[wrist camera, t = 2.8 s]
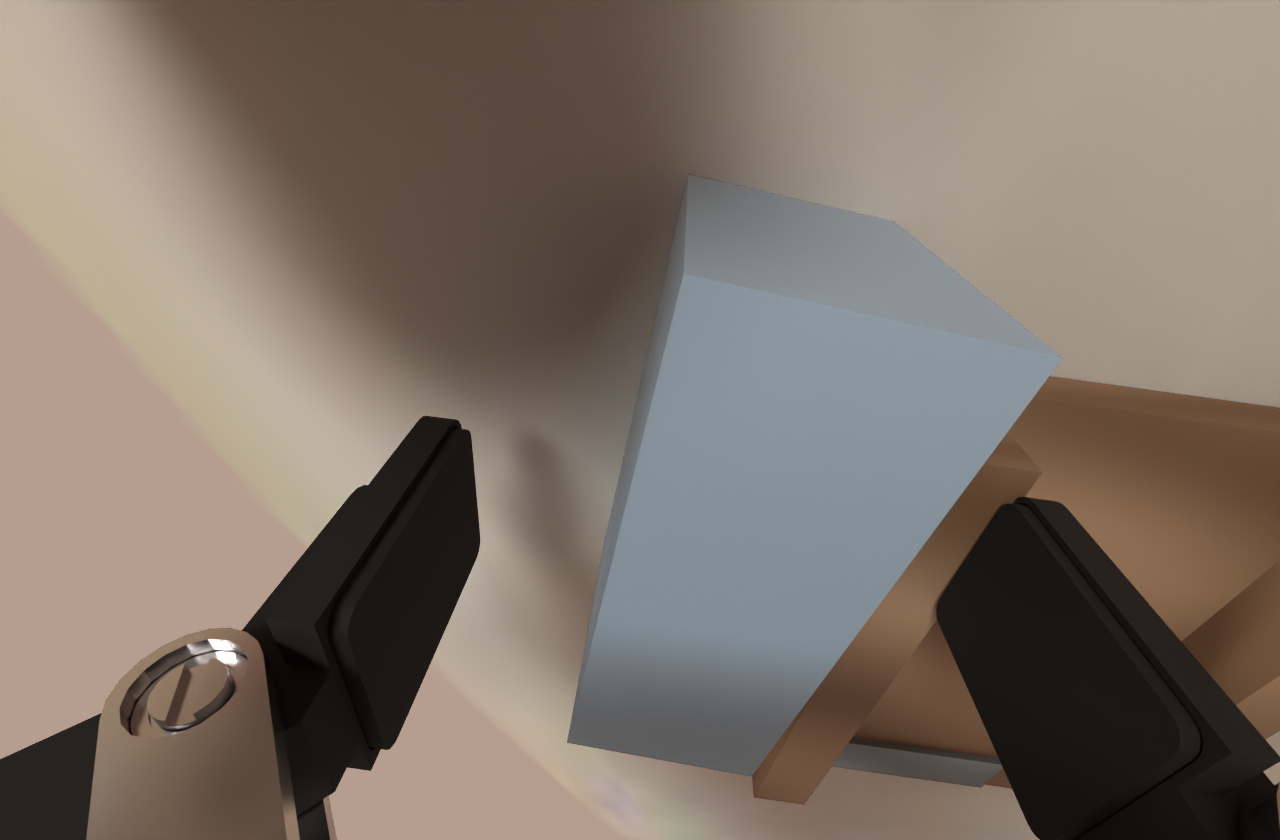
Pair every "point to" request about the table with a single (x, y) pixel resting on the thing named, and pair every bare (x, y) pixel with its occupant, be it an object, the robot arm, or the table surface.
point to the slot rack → (1125, 530)
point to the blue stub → (783, 466)
